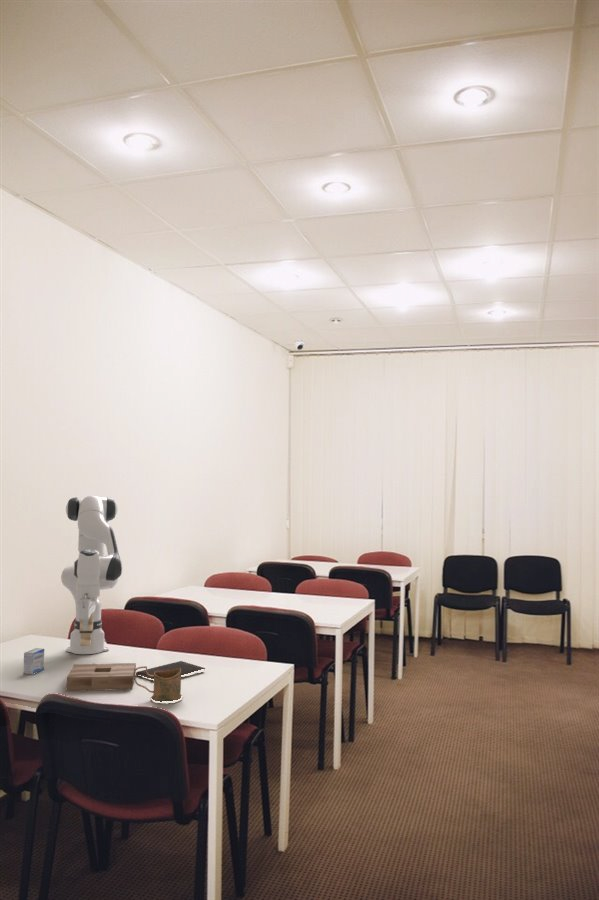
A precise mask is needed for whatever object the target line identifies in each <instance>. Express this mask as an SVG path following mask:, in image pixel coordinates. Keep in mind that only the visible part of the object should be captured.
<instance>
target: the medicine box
mask: <svg viewBox="0 0 599 900" xmlns="http://www.w3.org/2000/svg"><path fill="white" fill-rule="evenodd" d="M44 668H45V648H41V647H40V648H39V647H34V648H33V649H31V650H28V651H26V652H24V653H23V672H22V673H23V674H24V673H27V674H26V675H31V674H33V675H35V674H37V673H36V672H38V673H39V672H41V670H42V671H44ZM34 673H35V674H34Z"/></svg>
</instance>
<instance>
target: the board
mask: <svg viewBox="0 0 599 900" xmlns="http://www.w3.org/2000/svg"><path fill="white" fill-rule="evenodd" d="M136 665H137V663H136V662H123V663H122V662H121V663H119V662H117V663H83V664H82V663H77V664H76V663H75V664H73V666H72V668H71V669H70V671H69V673H68V675H67V676H66V689H65V690H66V692H76V691H77V692H79V691H80V692H81V690H86V691H106V690H105V689H121V690H133V689H134V684H135V680H134V671H135V669H136V668H137V666H136ZM136 672H137V671H136ZM136 672H135V674H136ZM132 688H133V689H132Z"/></svg>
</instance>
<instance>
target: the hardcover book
mask: <svg viewBox="0 0 599 900" xmlns="http://www.w3.org/2000/svg"><path fill="white" fill-rule="evenodd" d="M179 668H181V675H184V674H188V673H191V672H194V671H198V670H201V669H204V670H205V669H206V668H205V667H202V666H199V665H197V664H193V663H190V662H186V661H182V660H179V661H175V662H171V663H168V664H163V665H159V666H155V667H151V668H147V672H148V674H150V675H154V672H155V671H168V670H173V669H179ZM136 675H141V676H144V677H147V678H151V679H154V677H151V676H148V675H147V673H146V669H143V670H139V671H138V670H137V671H136V673H135V676H136Z"/></svg>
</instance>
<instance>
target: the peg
mask: <svg viewBox="0 0 599 900" xmlns="http://www.w3.org/2000/svg"><path fill="white" fill-rule="evenodd" d="M93 618H94V613H92V614H91V617H90V618H89V620H88V629H87V630H84V629H83V622H82V620H80V633H81V643H80V646H90V645H91V641H92V632H93Z"/></svg>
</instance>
